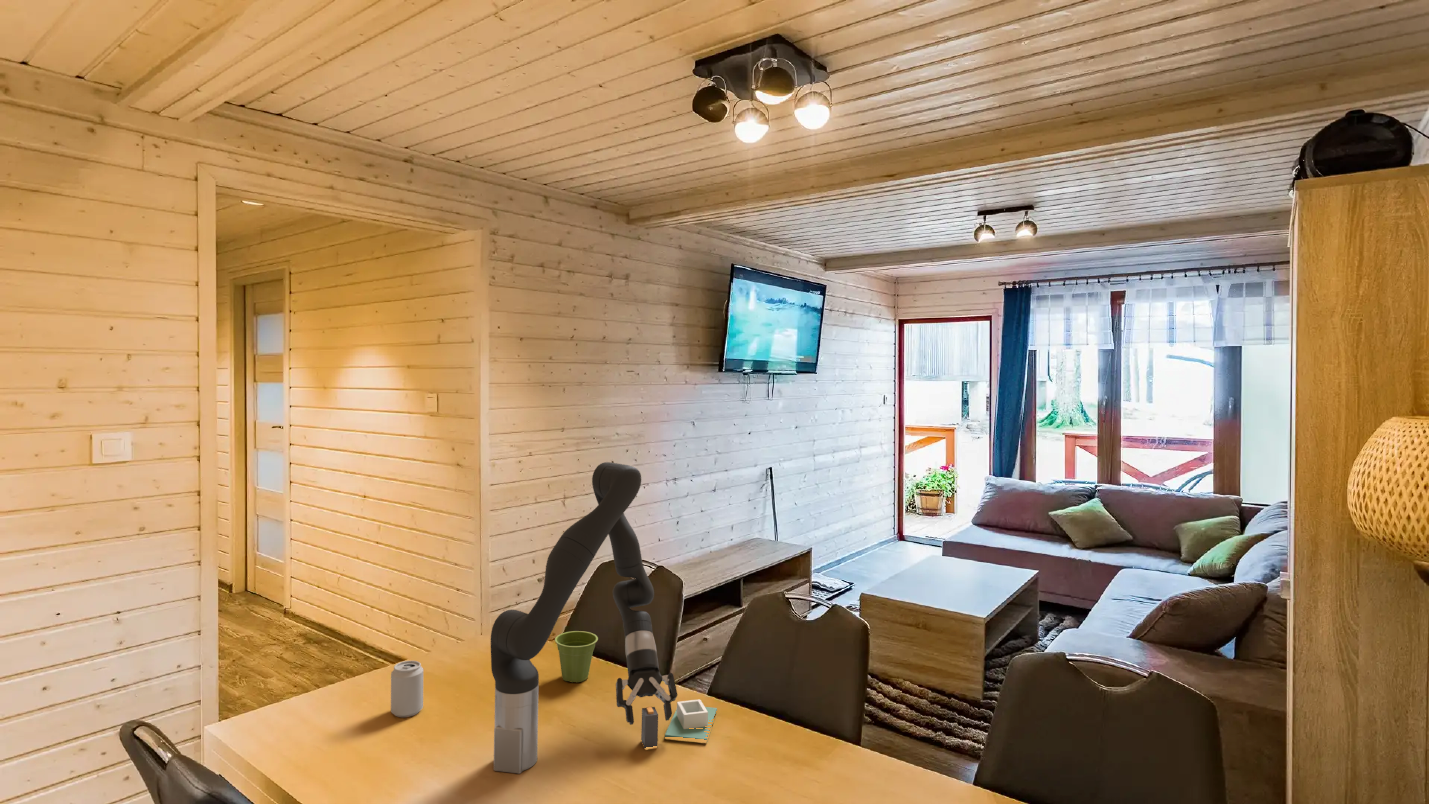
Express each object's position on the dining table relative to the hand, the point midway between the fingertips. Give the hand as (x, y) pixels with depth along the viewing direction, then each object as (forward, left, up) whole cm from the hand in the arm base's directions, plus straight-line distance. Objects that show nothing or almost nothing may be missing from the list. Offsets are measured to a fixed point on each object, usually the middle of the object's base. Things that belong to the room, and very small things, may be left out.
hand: (650, 721), depth 169 cm
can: (+3, +63, -6) cm, 63 cm away
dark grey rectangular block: (0, 0, -6) cm, 6 cm away
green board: (+11, -8, -6) cm, 15 cm away
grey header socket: (+11, -8, -4) cm, 14 cm away
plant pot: (+31, +29, -6) cm, 43 cm away
